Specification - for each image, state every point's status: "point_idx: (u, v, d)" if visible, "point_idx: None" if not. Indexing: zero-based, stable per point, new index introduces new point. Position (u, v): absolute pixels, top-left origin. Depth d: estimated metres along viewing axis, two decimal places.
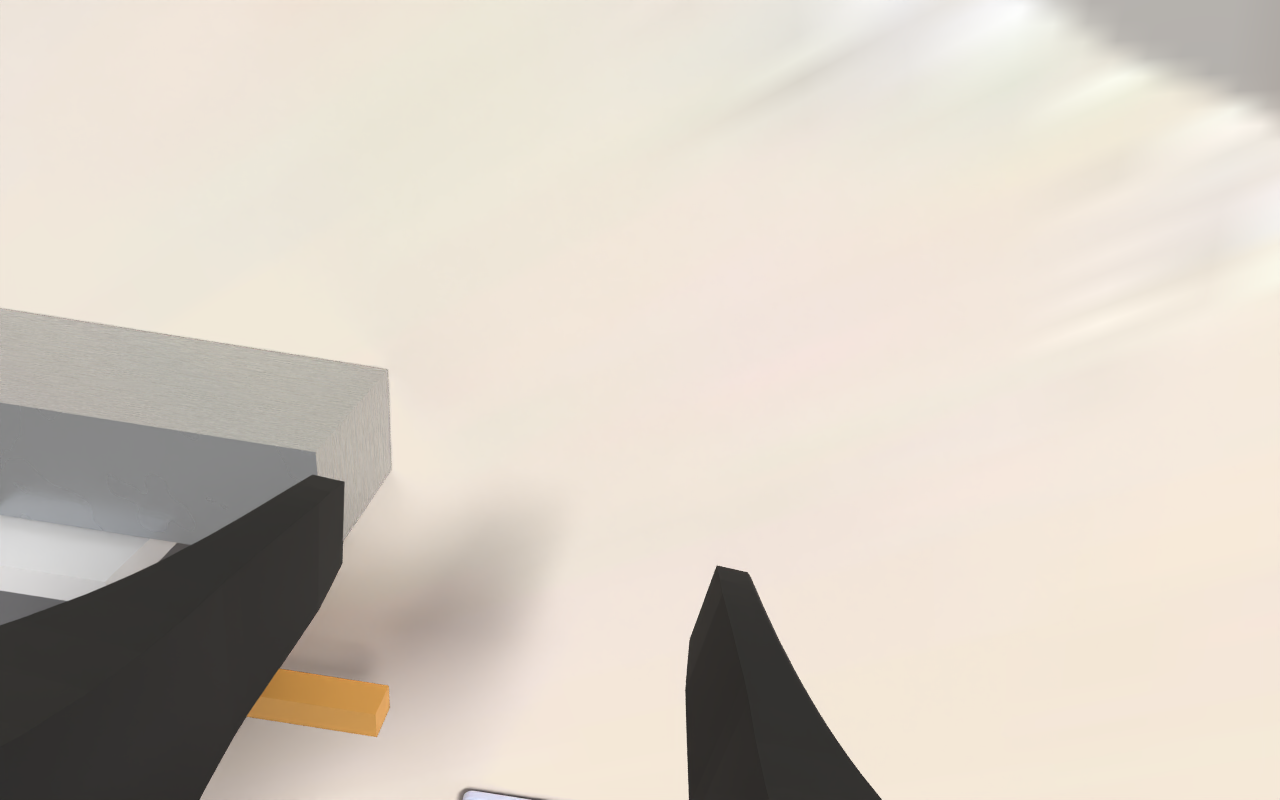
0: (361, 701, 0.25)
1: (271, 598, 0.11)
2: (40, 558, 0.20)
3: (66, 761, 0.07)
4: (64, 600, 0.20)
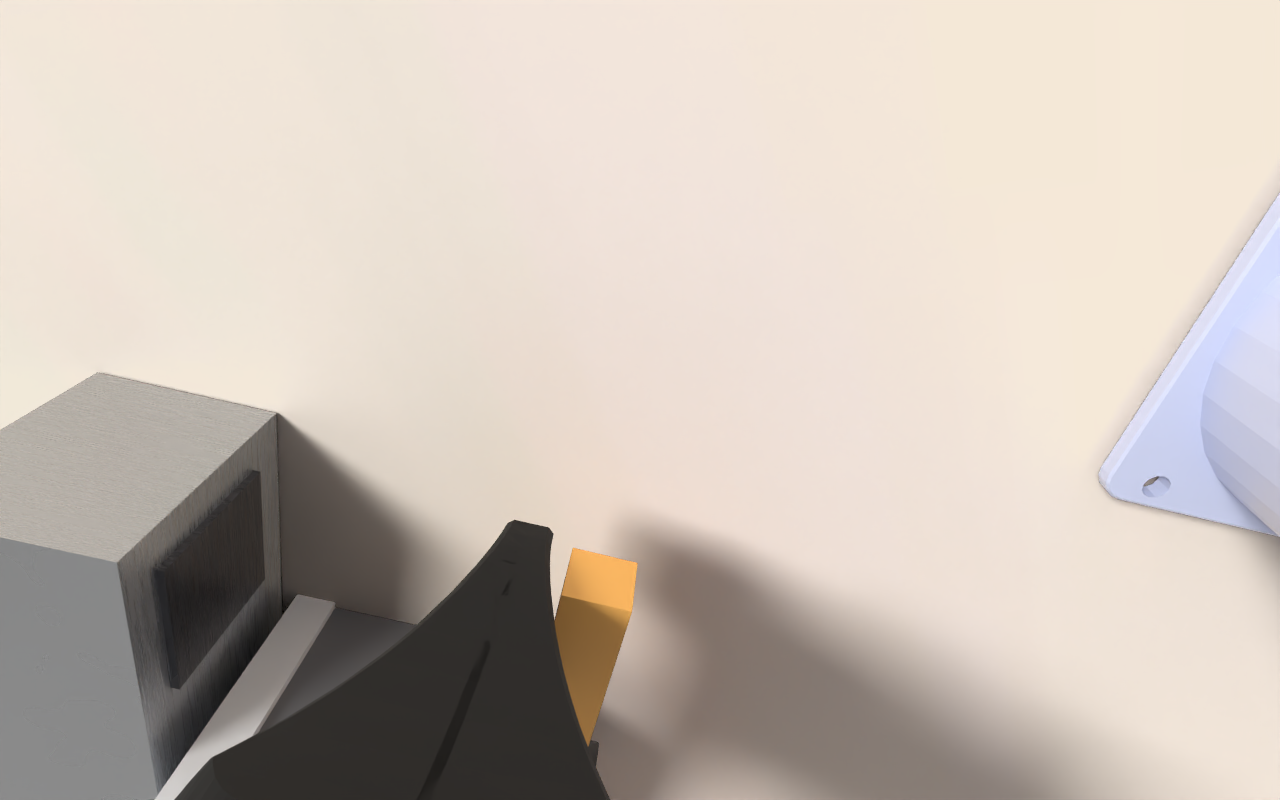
0: (558, 605, 0.12)
1: None
2: None
3: None
4: None
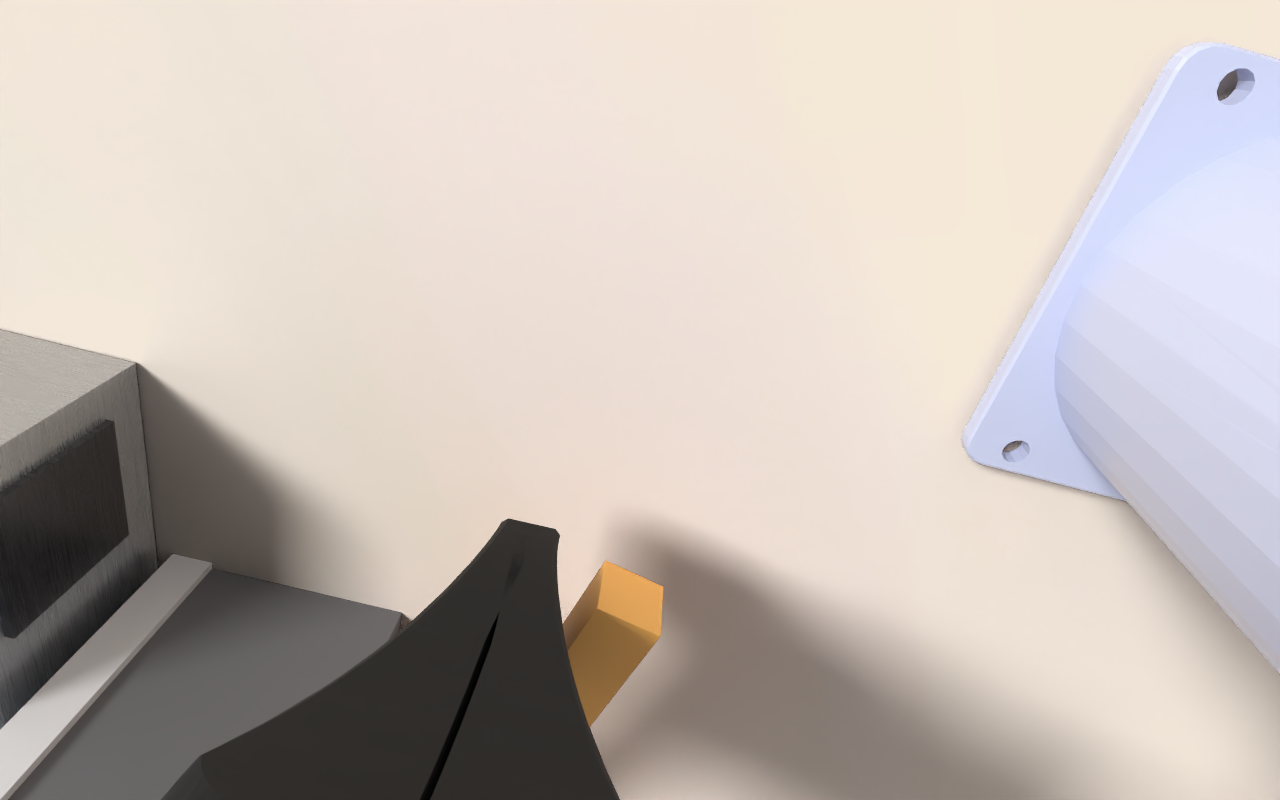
0: (583, 615, 0.13)
1: None
2: None
3: None
4: None
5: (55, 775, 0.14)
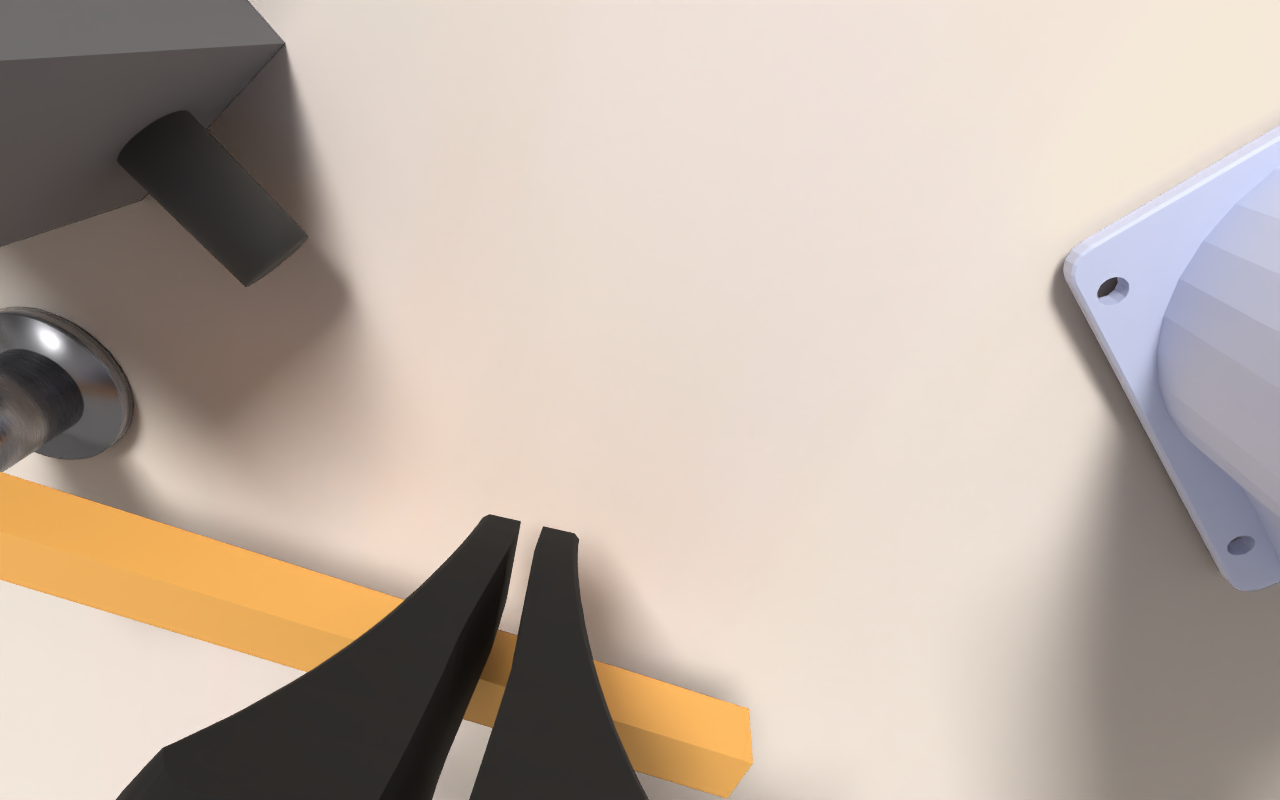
0: (720, 733, 0.14)
1: (475, 643, 0.11)
2: None
3: None
4: None
5: None
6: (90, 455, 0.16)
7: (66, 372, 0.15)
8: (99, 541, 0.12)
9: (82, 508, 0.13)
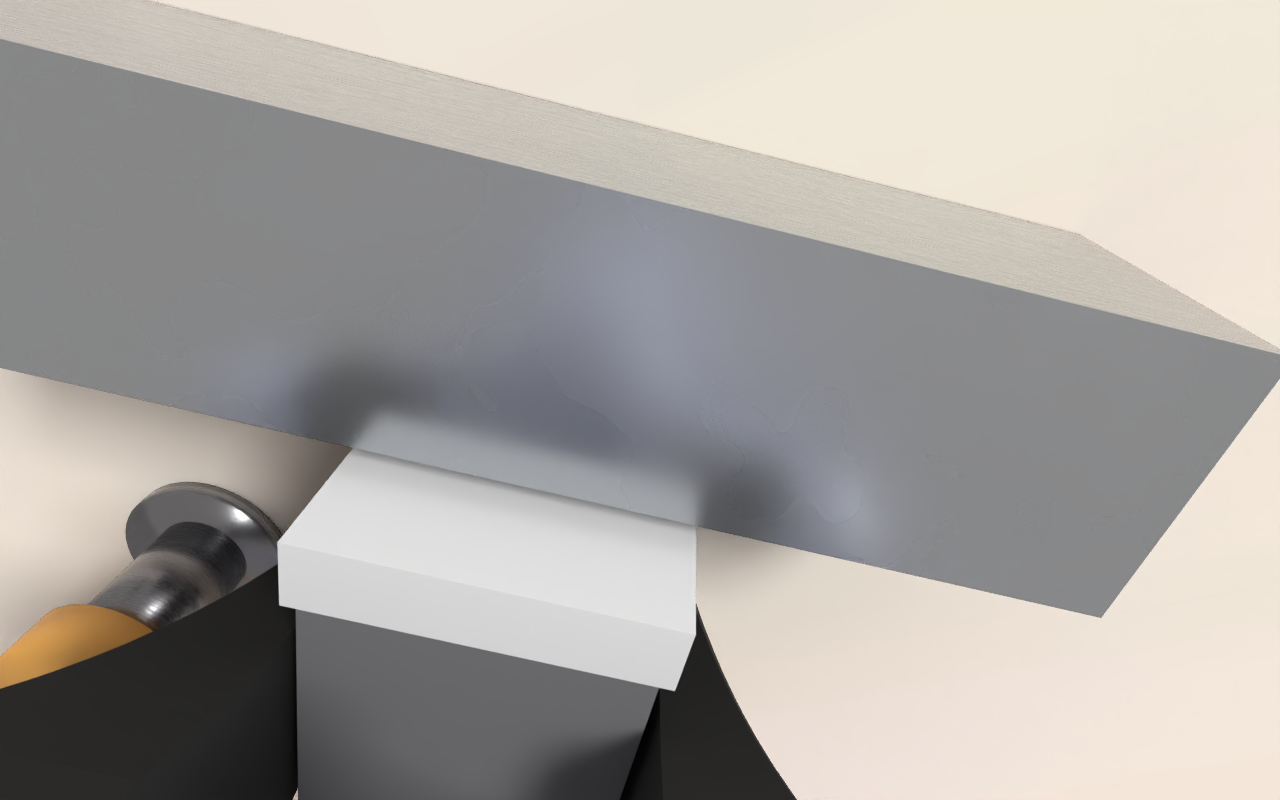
0: None
1: None
2: (522, 566, 0.09)
3: (190, 786, 0.07)
4: (565, 667, 0.09)
5: None
6: None
7: (245, 570, 0.17)
8: None
9: None
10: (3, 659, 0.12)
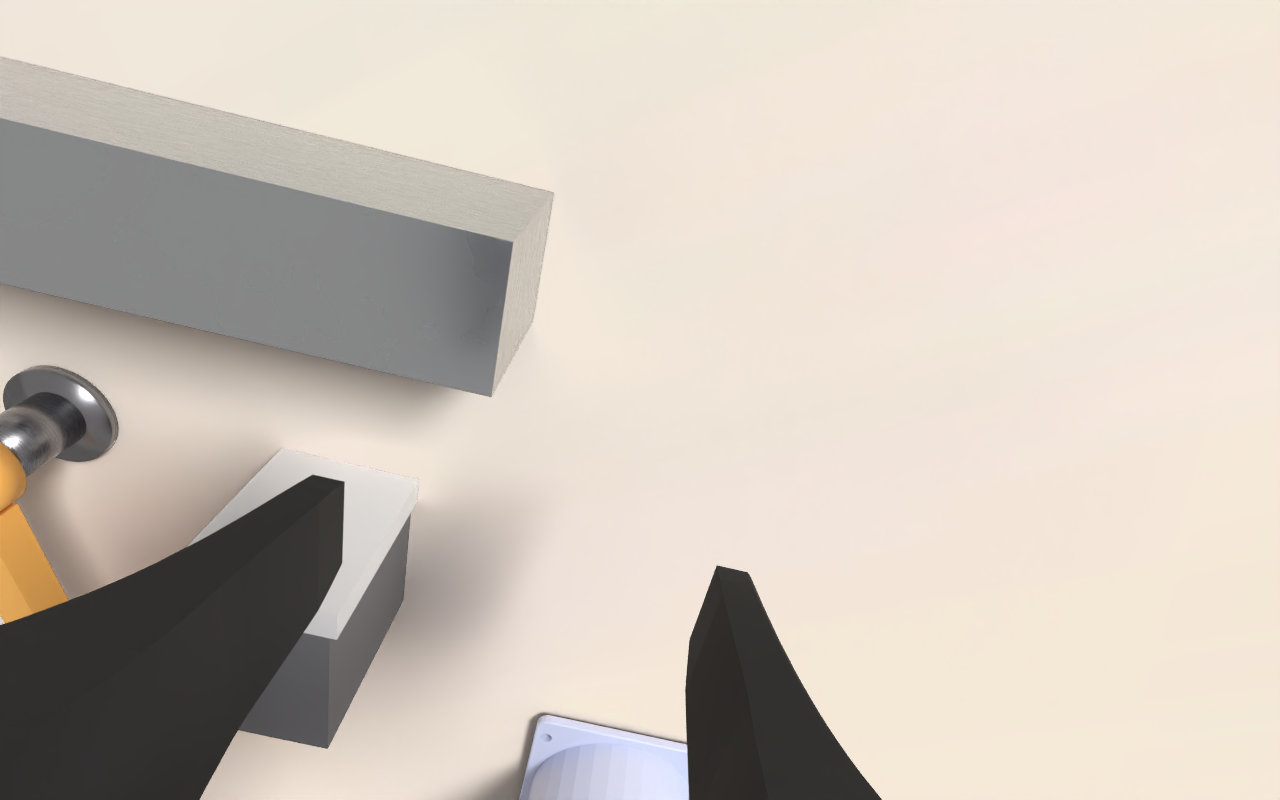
0: None
1: (271, 598, 0.11)
2: None
3: (66, 761, 0.07)
4: None
5: None
6: None
7: (86, 428, 0.25)
8: (32, 586, 0.23)
9: (37, 557, 0.23)
10: None
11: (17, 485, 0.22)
